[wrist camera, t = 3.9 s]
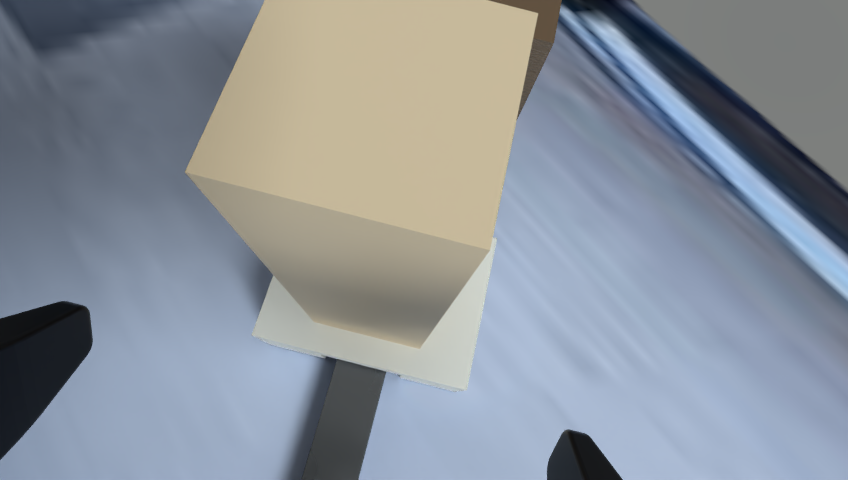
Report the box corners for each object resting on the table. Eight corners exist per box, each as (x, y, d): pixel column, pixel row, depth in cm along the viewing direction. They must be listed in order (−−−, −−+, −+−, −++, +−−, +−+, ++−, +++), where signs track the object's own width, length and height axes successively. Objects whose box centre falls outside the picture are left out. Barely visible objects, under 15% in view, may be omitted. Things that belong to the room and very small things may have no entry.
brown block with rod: (420, 553, 18) (443, 642, 11) (203, 497, 18) (98, 554, 11) (519, 78, 25) (567, -35, 19) (366, 39, 25) (361, -88, 19)
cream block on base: (454, 391, 20) (636, 369, 6) (270, 344, 20) (-11, 202, 6) (482, 259, 22) (667, -3, 8) (314, 216, 22) (189, -126, 8)
